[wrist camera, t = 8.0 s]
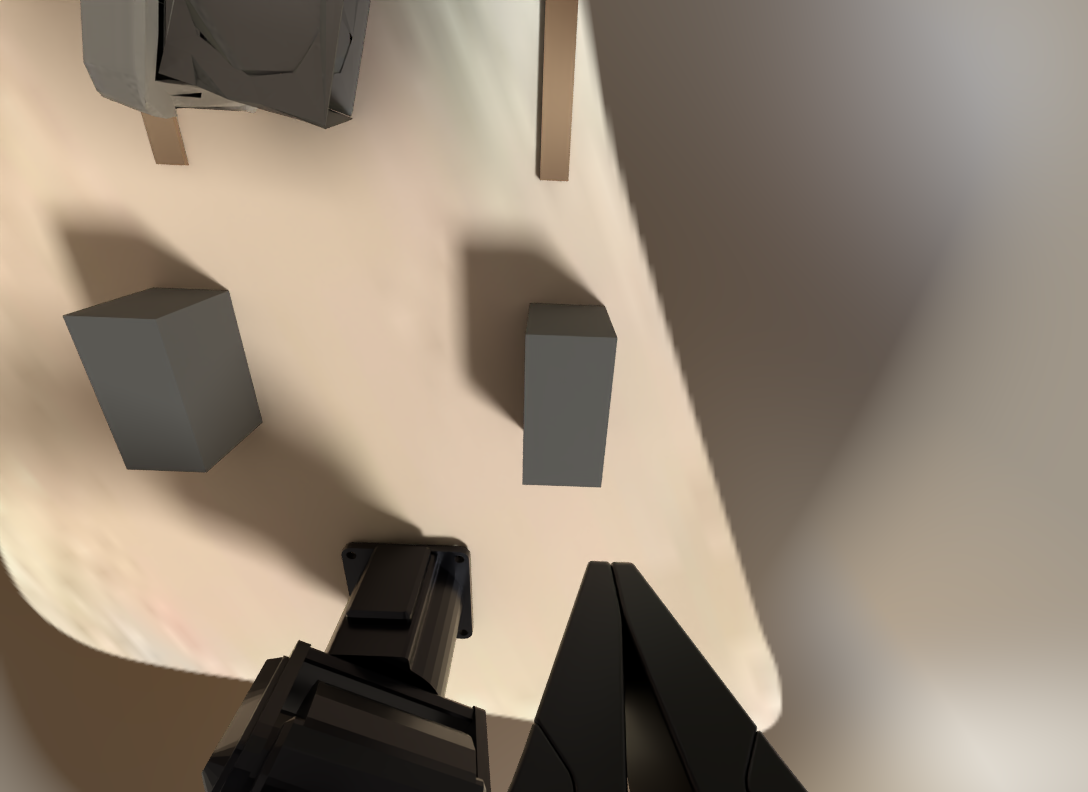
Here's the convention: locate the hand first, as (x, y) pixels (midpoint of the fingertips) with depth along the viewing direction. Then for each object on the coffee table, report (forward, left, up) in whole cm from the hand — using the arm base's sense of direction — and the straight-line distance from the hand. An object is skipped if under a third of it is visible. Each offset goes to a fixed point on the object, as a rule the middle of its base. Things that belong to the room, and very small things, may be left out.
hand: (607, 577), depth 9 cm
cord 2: (-1, +15, -12) cm, 20 cm away
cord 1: (-1, 0, -12) cm, 12 cm away
